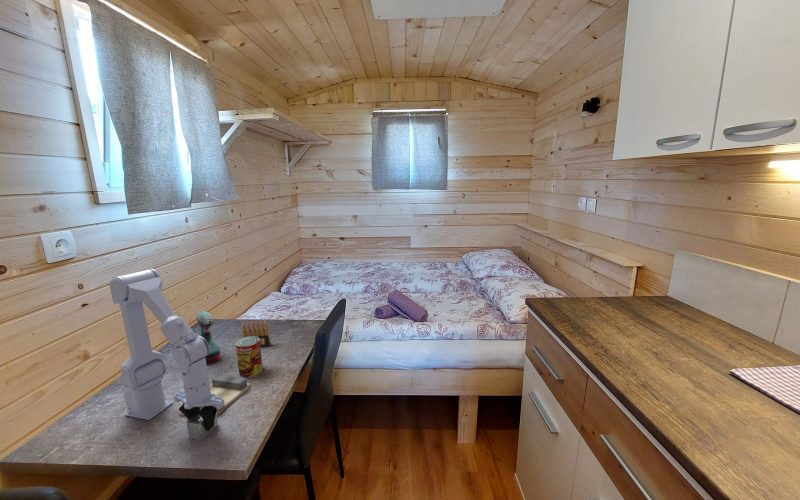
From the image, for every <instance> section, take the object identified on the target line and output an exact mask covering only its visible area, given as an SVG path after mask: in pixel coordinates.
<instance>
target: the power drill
mask: <svg viewBox="0 0 800 500" xmlns="http://www.w3.org/2000/svg"><path fill="white" fill-rule="evenodd" d="M196 314H197V315H196V321H197V323H198V324H199V326H200V336H201V337H203V338H205V339H206V341H207V343H208V345H209V354H208V355H207V356H205V358H206V364H208V363H212V362H215V361H218V360H221V357H220V355H221V348H220V346H219V345H218V343H217V342H216V340H214V339H213V338H212V332H211V326H213V325H214V323H215V321H214V317H213V315H212V314H211V313H210V312H207V311H205V310H204V311H200V312H198V313H196Z"/></svg>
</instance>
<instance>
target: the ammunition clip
mask: <svg viewBox="0 0 800 500" xmlns="http://www.w3.org/2000/svg"><path fill="white" fill-rule="evenodd" d="M263 322H264V323H263ZM268 325H269V324H268V321H267V319H265V318H264V321H263V320H262V319H260V320H259V321H258V320H257V319H256V320H255V323H254V320H253V319H252V320H251V322H250V321H249V320H247V321H246V323H245V320H242V322H241V334H242V338H244V337H248V336H256V337H258V338H259V340H260V348H268V347H270V346H271V345H272V342H271V335H270V332H269V330H270V329H269V326H268Z"/></svg>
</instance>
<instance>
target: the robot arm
mask: <svg viewBox="0 0 800 500" xmlns="http://www.w3.org/2000/svg"><path fill="white" fill-rule="evenodd" d="M109 289H110V294H111V298H112V302H113V304H115V305H119V309H120V312H121V317H122V321H123V325H124V327H123V328H124V331H125V335H126V341H127V345H128V350H129V354H130V355H129V356H128V357H127V358H126V359H125V360H124V362H123V363H122V364H121V365H120V381H121V385H122V386H123V387H124V388H125V390H124V401H125V406H126V411H127V412H125V413H124V416H127V417H132V418H136V419H141V420H142V419H143V420H147V421H149V420H151V419H153V418H154V417H156V416H157V415H158V414H160V413H162V412H163V411H164V410H166V409H167V408H168V407H170V406H171V405H172V404H173V403H174V402H175V403H180V402H181V403H182V405H181V406H179V408H178V411H180V412H182V413H183V414H184V415H185V416H184V417H186V419H187V421H188V420H189V419H190V418H192V417H193V416H194V415H195V414H197V413H198V414H199V415H200V416H201V417H202V419H203V422H204V426H205V429H206V431H209V430H210V429H211V428H212V427H213V426H214V421H215V416H216V412H217V410H218V409H221V408H222V407H223V406H224V405H225V403H224V399H222V398H220V397H218V396H216V395H215V394H213V393H212V392H210V387H211V386H210V380H209V372H208V367H207V366H208V365H207V363H206V358H205V356H207V355H208V354H209V345H208V343H207V341H206V339H205V338H203V337H201V335H200V334H199V333H197V332H194V331H193V330H192V328H191V327H190V325H189V324H188V322H187V321H186V320H185V319H184V317H182V316H177V315H176V313H175V311H173V309H172V307H171V305H170V304H169V302H168V300H167V298H166V297H165V295H164V293H163V292H162V289H163V280H162V277H161V275H160V273H159V272H158V271H157V270H156V269H153V268H148V269H146V270H141V271H137V272H132V273H127V274H123V275H119V276H114V277H112V279H111V281H110V282H109ZM144 305H145V307H146V308H147V309H148V310H149V311H150V312H151V313H152V315H154V317H155V318H156V319H157V320H158V321H159V322H160V323H161V325H160V330H159V331H160V332H161V333H162V335H163V337H164V338H165V339H166V340H167V342H168V343H169V345H170V346H171V348H172V349H173V353H172V356H173V359H174V361H175V363H176V365H177V368H178V370H179V372H181V377H182V382H183V384H182V385H183V389H184V391H179V392H177V393H176V394H175V395H173V397H174V402H173V400H166V399H165V393H164V387H163V382H162V380H163V379H164V375H166V373H167V370H168V365H167V362H166V360H164V357H163V353H161V352H159V351H157V350H154V349H152V344H151V339H150V335H149V334H150V333H149V329H148V324H147V320H146V319H147V318H146V315H145V314H146V313H145V309H144V308H145V307H144ZM200 406H204V408H202V409H201V410H200Z"/></svg>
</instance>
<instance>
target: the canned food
mask: <svg viewBox="0 0 800 500" xmlns="http://www.w3.org/2000/svg"><path fill="white" fill-rule="evenodd" d="M235 350H236V351H235V352H236V360H237V368H238V373H239V374H238V376H240V378H246V379H247V378H253V377H256V376H258V375H260V374H261V373H262V372H263V360H262V351H261V347H260V340H259V338H258V337H256V336H248V337H244V338H239V339H237V340H236V342H235Z"/></svg>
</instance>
